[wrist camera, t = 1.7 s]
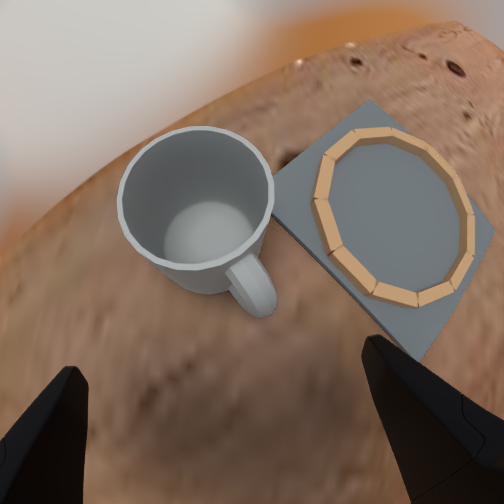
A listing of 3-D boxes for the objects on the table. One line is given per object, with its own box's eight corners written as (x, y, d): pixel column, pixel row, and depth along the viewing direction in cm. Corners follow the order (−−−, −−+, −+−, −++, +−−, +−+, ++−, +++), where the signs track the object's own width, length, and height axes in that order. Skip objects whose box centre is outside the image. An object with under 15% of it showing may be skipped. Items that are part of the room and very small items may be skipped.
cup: (222, 182, 23) (216, 104, 15) (304, 287, 21) (347, 257, 13) (142, 234, 22) (94, 179, 13) (220, 349, 20) (208, 362, 11)
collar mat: (491, 231, 24) (503, 225, 22) (413, 362, 20) (426, 364, 19) (368, 103, 26) (374, 91, 25) (252, 197, 23) (253, 186, 21)
